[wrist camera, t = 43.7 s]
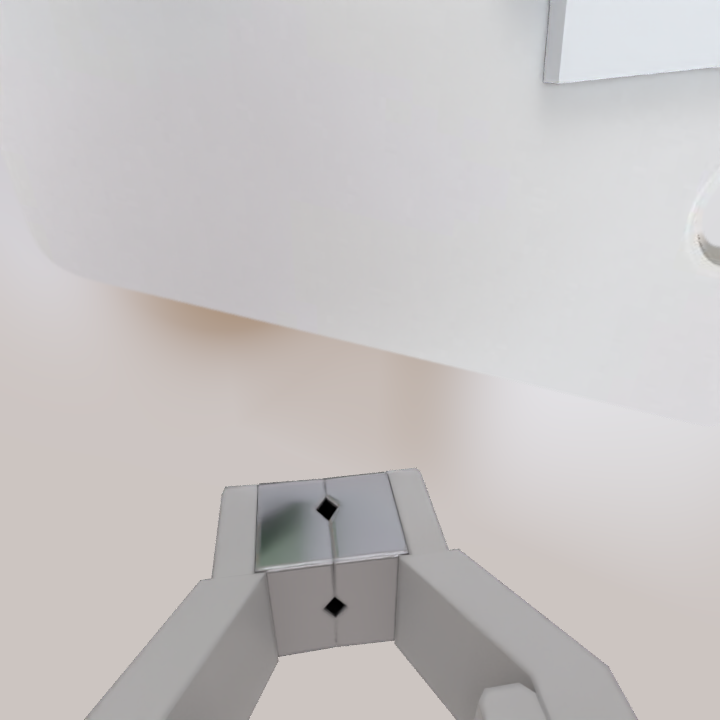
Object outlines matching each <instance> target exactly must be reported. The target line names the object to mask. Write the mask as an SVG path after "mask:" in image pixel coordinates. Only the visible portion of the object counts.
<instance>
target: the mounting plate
mask: <svg viewBox="0 0 720 720" xmlns="http://www.w3.org/2000/svg"><path fill="white" fill-rule="evenodd" d="M713 67H720V0H550V10H549V21H548V33H547V44H546V56H545V67H544V79H543V82H545V83H556V84H560V83H570V82H579V81H589V80H598V79H608V78H617V77H627V76H636V75H646V74H655V73H665V72H674V71H684V70H694V69H703V68H713Z"/></svg>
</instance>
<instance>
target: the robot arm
mask: <svg viewBox="0 0 720 720" xmlns="http://www.w3.org/2000/svg"><path fill="white" fill-rule="evenodd" d="M394 640H395V645H396V646H397V647H398V648H399V649H400V651H401V652H402V653H403V655H404V656H405V657H406V658H407V660H408V661H409V662H410V663H411V664H412V666H413V667H414V668H415V669H416V671H417V672H418V673H419V674H420V675H421V677H422V678H423V679H424V680H425V682H426V683H427V684H428V685H429V687H430V688H431V689H432V690H433V692H434V693H435V694H436V695H437V696H438V698H439V699H440V700H441V701H442V703H443V704H444V705H445V706H446V708H447V709H448V710H449V711H450V712H451V714H452V715H453V716H454V717H455V719H456V720H638V719H637V717H636V715H635V713H634V711H633V710H632V708H631V706H630V704H629V702H628V701H627V699H626V697H625V695H624V693H623V692H622V690H621V688H620V686H619V685H618V683H617V681H616V679H615V677H614V675H613V673H612V672H611V670H610V668H609V666H607V665H606V664H605V663H604V662H602V661H601V660H600V659H599V658H597V657H596V656H595V655H593V654H592V653H591V652H590V651H588V650H587V649H586V648H584V647H583V646H582V645H581V644H579V643H578V642H577V641H576V640H574V639H573V638H572V637H571V636H569V635H568V634H567V633H565V632H564V631H563V630H562V629H560V628H559V627H558V626H556V625H555V624H554V623H553V622H551V621H550V620H549V619H548V618H546V617H545V616H544V615H542V614H541V613H540V612H539V611H537V610H536V609H535V608H533V607H532V606H531V605H530V604H528V603H527V602H526V601H525V600H523V599H522V598H521V597H520V596H518V595H517V594H516V593H514V592H513V591H512V590H511V589H509V588H508V587H507V586H505V585H504V584H503V583H502V582H500V581H499V580H498V579H497V578H495V577H494V576H493V575H491V574H490V573H489V572H488V571H486V570H485V569H484V568H483V567H481V566H480V565H479V564H477V563H476V562H475V561H474V560H472V559H471V558H470V557H468V556H467V555H466V554H465V553H463V552H462V551H461V550H459V549H453V550H449V549H448V546H447V543H446V541H445V538H444V536H443V532H442V530H441V527H440V524H439V522H438V519H437V516H436V513H435V511H434V508H433V505H432V502H431V499H430V496H429V494H428V491H427V488H426V485H425V483H424V480H423V477H422V475H421V472H420V471H419V470H418V469H417V468H410V469H401V470H393V471H386V472H378V473H369V474H360V475H350V476H342V477H332V478H323V479H312V480H299V481H286V482H273V483H261V484H259V485H243V486H229V487H225V489H224V491H223V493H222V497H221V505H220V513H219V521H218V529H217V538H216V546H215V554H214V563H213V571H212V578H211V579H205V580H200V582H199V583H198V584H197V585H196V586H195V587H194V589H193V590H192V591H191V592H190V593H189V594H188V596H187V597H186V598H185V599H184V600H183V602H182V603H181V604H180V605H179V606H178V608H177V609H176V610H175V611H174V612H173V614H172V615H171V616H170V617H169V618H168V620H167V621H166V622H165V623H164V624H163V626H162V627H161V628H160V630H158V632H157V633H156V634H155V635H154V637H153V638H152V639H151V640H150V641H149V643H148V644H147V645H146V646H145V647H144V648H143V650H142V651H141V652H140V653H139V655H138V656H137V657H136V658H135V659H134V660H133V662H132V663H131V664H130V665H129V667H128V668H127V669H126V670H125V671H124V673H123V674H122V675H121V676H120V677H119V679H118V680H117V681H116V682H115V683H114V684H113V686H112V687H111V688H110V689H109V691H108V692H107V693H106V694H105V695H104V696H103V698H102V699H101V700H100V701H99V703H98V704H97V705H96V706H95V707H94V708H93V710H92V711H91V712H90V713H89V714H88V716H87V717H86V718H85V719H84V720H249V718H250V716H251V714H252V712H253V710H254V708H255V706H256V704H257V702H258V700H259V698H260V696H261V694H262V692H263V690H264V688H265V686H266V684H267V682H268V680H269V678H270V676H271V674H272V673H273V671H274V668H275V667H276V665H277V663H278V657H280V656H286V655H292V654H297V653H304V652H310V651H316V650H321V649H327V648H333V647H341V646H349V645H358V644H367V643H376V642H385V641H394Z"/></svg>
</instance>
